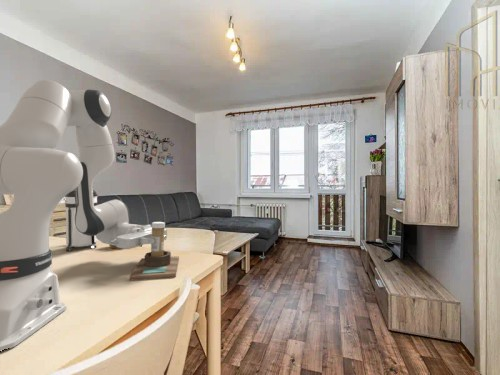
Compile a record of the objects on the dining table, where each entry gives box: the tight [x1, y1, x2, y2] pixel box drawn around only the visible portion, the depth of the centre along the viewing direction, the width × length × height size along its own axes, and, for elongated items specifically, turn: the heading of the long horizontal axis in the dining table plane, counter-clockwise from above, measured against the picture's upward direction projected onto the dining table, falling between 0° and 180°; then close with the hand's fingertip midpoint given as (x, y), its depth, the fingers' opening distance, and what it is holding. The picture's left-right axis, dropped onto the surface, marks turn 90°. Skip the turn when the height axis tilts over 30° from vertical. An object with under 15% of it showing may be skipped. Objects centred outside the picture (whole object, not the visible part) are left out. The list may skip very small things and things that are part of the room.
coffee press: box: [64, 189, 99, 252], centre depth 117 cm, size 17×16×30 cm
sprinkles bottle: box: [150, 221, 166, 257], centre depth 91 cm, size 5×5×14 cm
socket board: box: [129, 250, 180, 281], centre depth 89 cm, size 19×14×5 cm
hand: (159, 239), depth 91 cm, fingers closed on sprinkles bottle, 4 cm apart
